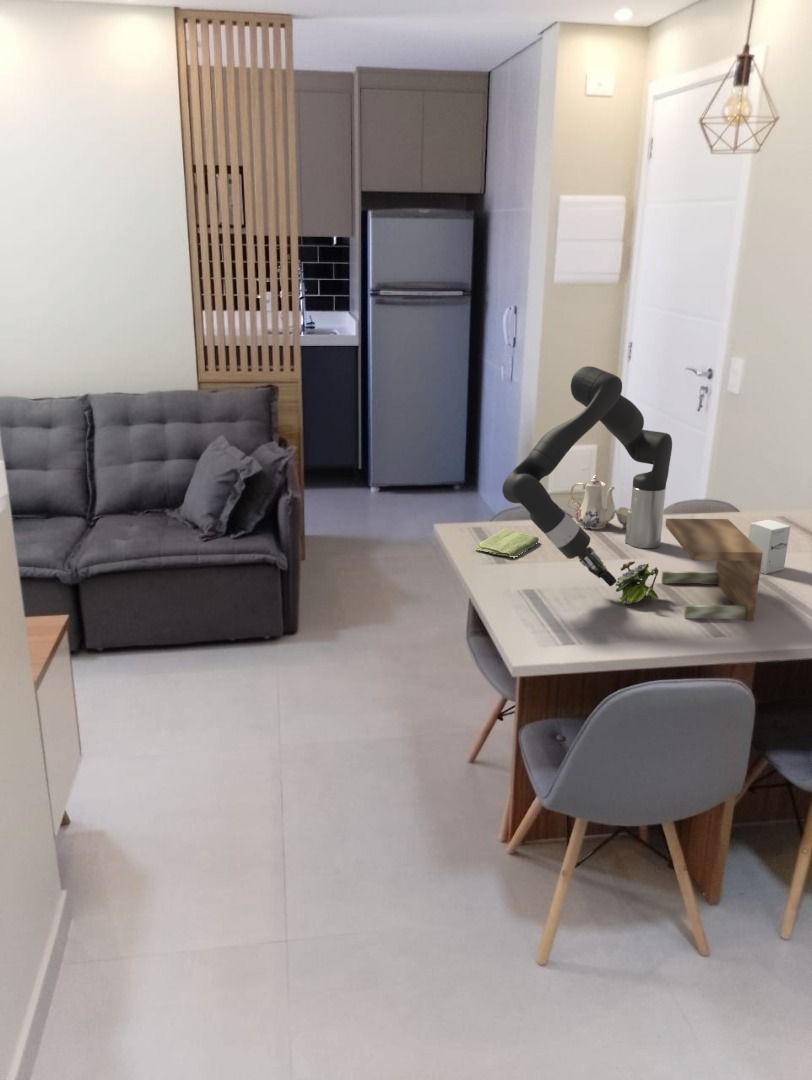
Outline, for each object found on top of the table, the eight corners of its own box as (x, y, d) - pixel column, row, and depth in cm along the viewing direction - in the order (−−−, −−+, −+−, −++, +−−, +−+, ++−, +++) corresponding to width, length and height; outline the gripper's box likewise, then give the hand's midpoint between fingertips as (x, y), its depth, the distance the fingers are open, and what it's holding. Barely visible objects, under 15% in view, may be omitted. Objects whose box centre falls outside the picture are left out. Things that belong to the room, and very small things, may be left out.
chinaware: (650, 532, 273) (657, 479, 269) (622, 539, 261) (630, 484, 257) (573, 513, 291) (579, 464, 287) (544, 519, 279) (550, 468, 275)
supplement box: (765, 575, 234) (771, 529, 230) (743, 566, 240) (749, 522, 236) (784, 570, 237) (791, 525, 233) (762, 561, 243) (768, 518, 239)
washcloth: (472, 552, 252) (473, 542, 251) (503, 536, 265) (503, 526, 264) (513, 562, 245) (513, 551, 244) (542, 544, 258) (542, 534, 257)
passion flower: (623, 613, 223) (632, 569, 226) (664, 617, 216) (672, 571, 219) (603, 600, 215) (612, 554, 218) (644, 603, 208) (654, 556, 211)
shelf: (686, 620, 206) (693, 551, 201) (660, 580, 230) (666, 518, 224) (753, 620, 206) (762, 552, 200) (720, 581, 230) (728, 519, 224)
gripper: (582, 534, 207) (630, 583, 210) (574, 516, 219) (619, 563, 223) (558, 554, 209) (606, 603, 212) (551, 536, 221) (597, 582, 225)
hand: (613, 582), depth 217 cm, fingers closed
